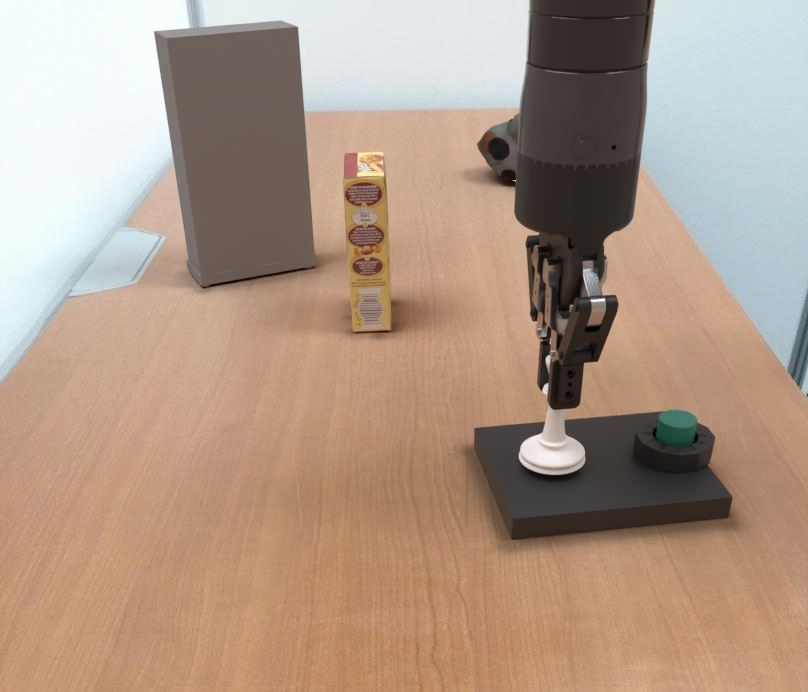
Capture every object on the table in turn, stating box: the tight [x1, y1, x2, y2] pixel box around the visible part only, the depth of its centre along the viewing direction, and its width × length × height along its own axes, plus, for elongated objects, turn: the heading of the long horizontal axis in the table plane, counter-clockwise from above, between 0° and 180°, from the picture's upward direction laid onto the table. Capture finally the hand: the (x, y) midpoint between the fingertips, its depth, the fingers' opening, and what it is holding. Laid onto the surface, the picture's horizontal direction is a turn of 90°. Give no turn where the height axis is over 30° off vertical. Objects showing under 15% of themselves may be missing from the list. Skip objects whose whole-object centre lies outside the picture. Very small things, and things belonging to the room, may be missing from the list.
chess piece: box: [519, 332, 585, 475], centre depth 68 cm, size 5×5×10 cm
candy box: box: [342, 151, 392, 333], centre depth 95 cm, size 9×4×15 cm, turn 2°
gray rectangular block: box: [153, 20, 318, 288], centre depth 104 cm, size 14×6×25 cm, turn 115°
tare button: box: [656, 409, 698, 447], centre depth 71 cm, size 3×3×2 cm
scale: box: [473, 410, 734, 541], centre depth 72 cm, size 17×13×4 cm
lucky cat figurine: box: [476, 112, 519, 186], centre depth 137 cm, size 15×12×14 cm
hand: (557, 396), depth 68 cm, fingers closed on chess piece
